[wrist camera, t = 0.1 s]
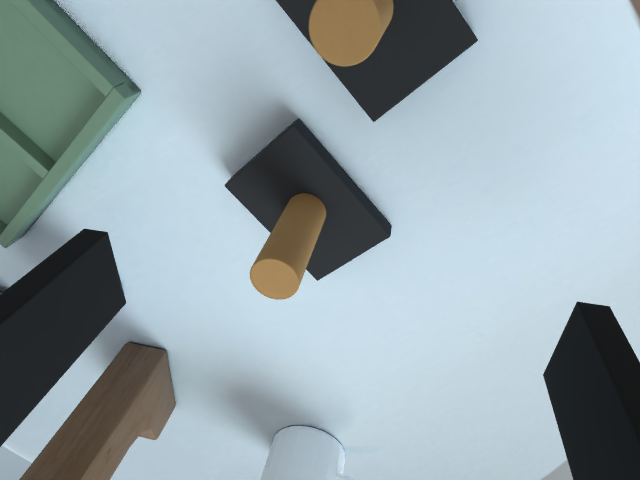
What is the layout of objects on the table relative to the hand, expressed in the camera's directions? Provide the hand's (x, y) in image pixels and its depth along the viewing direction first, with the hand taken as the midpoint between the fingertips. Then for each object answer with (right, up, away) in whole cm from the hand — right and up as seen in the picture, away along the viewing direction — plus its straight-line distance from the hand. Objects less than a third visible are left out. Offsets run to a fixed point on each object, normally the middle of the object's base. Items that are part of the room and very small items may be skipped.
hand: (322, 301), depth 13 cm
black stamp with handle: (+3, +15, +12) cm, 19 cm away
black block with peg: (-1, +5, +19) cm, 20 cm away
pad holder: (-24, +12, +20) cm, 34 cm away
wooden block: (-18, -12, +34) cm, 41 cm away
